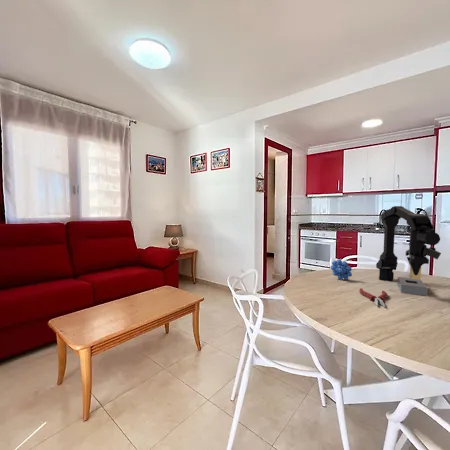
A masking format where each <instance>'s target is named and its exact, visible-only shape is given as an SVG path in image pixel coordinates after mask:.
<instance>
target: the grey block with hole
mask: <svg viewBox="0 0 450 450" xmlns="http://www.w3.org/2000/svg"><path fill="white" fill-rule="evenodd" d="M396 284H397V286H398V288H399V291H400V293H402V294H410V295H417V296H424V297H427V296H428V287H427V285H426V284H425V283H424V282H423V281H422V280H421V279H420V280H417V279H411V278H410V277H403V276H397V283H396Z"/></svg>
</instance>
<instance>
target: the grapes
mask: <svg viewBox="0 0 450 450" xmlns="http://www.w3.org/2000/svg"><path fill="white" fill-rule="evenodd" d="M331 264H332V265H330V269H331V271H332V275H333V276H335V277H337V279H339V280H343V279H344V280H345V281H347V280H349V278H350V277H352V276H353V272H351V271H352V270H353V269H352V266H350V265H348V262H347V261H345V260H343V261H342V260H341V259H339V258H338V259H336V260H332V262H331Z"/></svg>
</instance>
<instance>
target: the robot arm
mask: <svg viewBox="0 0 450 450" xmlns="http://www.w3.org/2000/svg"><path fill="white" fill-rule="evenodd" d="M401 219H403V220H405V221H406V225H408V226H409V227H410V228H409V229H407V231H408V232H409V242H408V245H409V247H408V249H407V250H405V253H404V254H405V256H406V259H407V261H408V265H410V264H411V267H412V270H413V272H414V275H418V273H419V270H420V268H421V269H422V266H423V265H425V264H426V265H429V263H430V260H429V258H428V257H430V258H434V260H438V259H439V258H440V256H441V254H442V253H441V252H440V251H439V250H438V251H437V250H436V249H437V248H436V247H433V246H436V245H437V244H439V243H440V241H441V237H440V234H438V233H437V232H436V229H434V224H433V223H432V222H431V218H429V216H428V215H426V214H421V213H415V212H413V211H411V210H409V209H408V208H406V207H404V206H401V205H399V206H398V205H394V206H391V207H390V208H389V209H386V210H384V211H383V212H382V213H381V215H380V220H381V224H382V225H383V227H384V234H383V251H382V253H381V254H380V255H379V259H378V261H377V262H376V264H375V267H376V269H378V270H379V271H378V280H379V281H386V282H393V280H394V274H395V273H394V271H397V267H398V256H397V255H396V254H395V232H396V230H395V229H396V227H397V226H398V225H399V222H400V220H401ZM428 245H429V246H430V247H427V246H428ZM427 256H428V257H427Z"/></svg>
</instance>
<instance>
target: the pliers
mask: <svg viewBox="0 0 450 450" xmlns="http://www.w3.org/2000/svg"><path fill="white" fill-rule="evenodd" d="M358 291H359V294H360V295H361V296H362V297H364V298H367V299H369V301H370V302H374V305H376V307H378V304H379V305H380V306H382V307H384V308H385V307H386V304H385V302H386V299H387V298H388V293H387V292H386V291H385V290H381V295H378V296H376V295H374V294H372V293H369V292H367V291H365V290H364V289H363V288H359V289H358Z"/></svg>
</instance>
